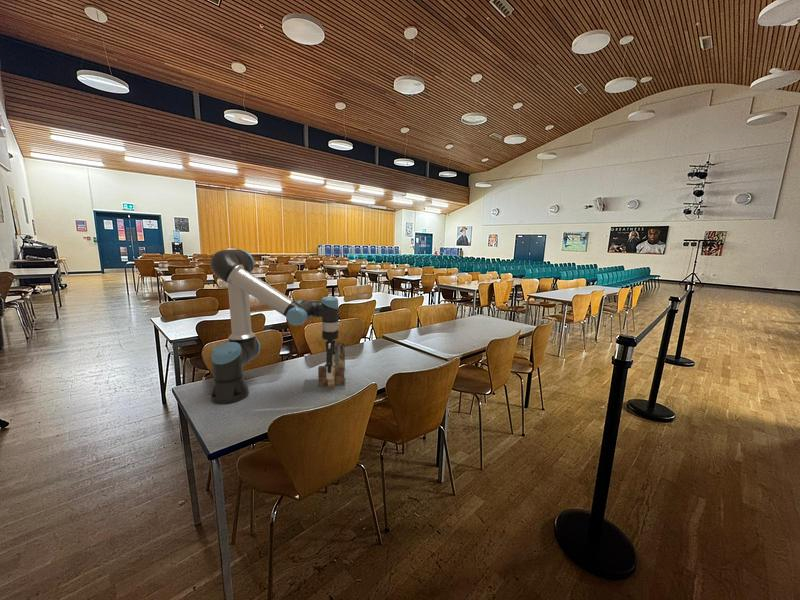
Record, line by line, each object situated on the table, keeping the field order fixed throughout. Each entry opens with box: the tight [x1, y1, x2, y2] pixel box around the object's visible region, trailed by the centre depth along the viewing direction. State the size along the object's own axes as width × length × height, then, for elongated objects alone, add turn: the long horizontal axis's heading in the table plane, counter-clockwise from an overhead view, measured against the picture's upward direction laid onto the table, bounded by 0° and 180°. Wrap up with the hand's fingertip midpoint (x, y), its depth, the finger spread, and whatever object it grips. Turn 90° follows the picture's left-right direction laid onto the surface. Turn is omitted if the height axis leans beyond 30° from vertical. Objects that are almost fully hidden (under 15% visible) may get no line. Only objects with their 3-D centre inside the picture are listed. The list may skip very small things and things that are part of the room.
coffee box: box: [333, 341, 346, 374], centre depth 174 cm, size 9×6×16 cm
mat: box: [300, 377, 347, 393], centre depth 160 cm, size 20×14×1 cm
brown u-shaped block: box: [317, 365, 346, 386], centre depth 160 cm, size 12×3×9 cm, turn 98°
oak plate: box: [328, 363, 335, 389], centre depth 160 cm, size 10×3×9 cm, turn 8°
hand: (330, 373), depth 159 cm, fingers open, 13 cm apart
